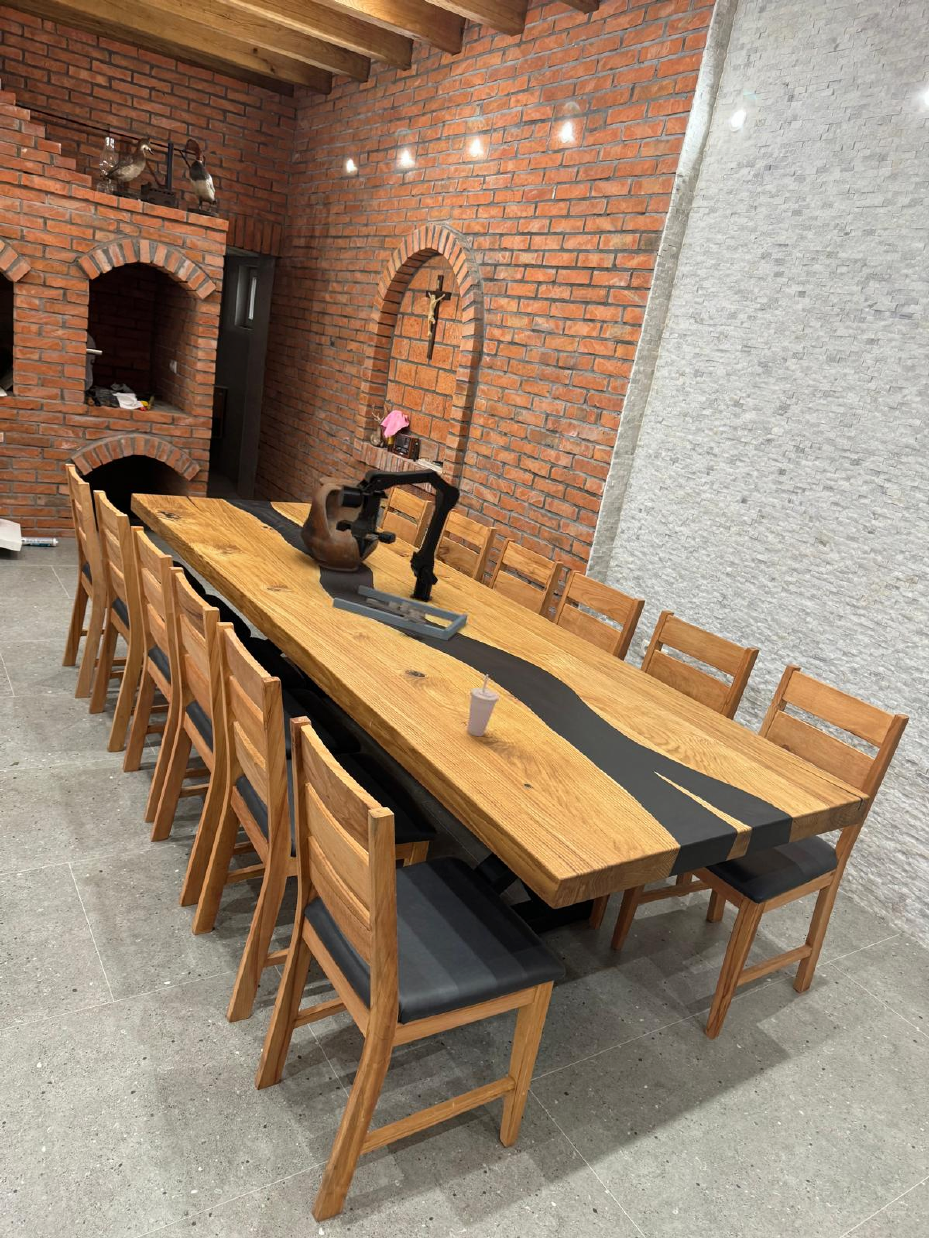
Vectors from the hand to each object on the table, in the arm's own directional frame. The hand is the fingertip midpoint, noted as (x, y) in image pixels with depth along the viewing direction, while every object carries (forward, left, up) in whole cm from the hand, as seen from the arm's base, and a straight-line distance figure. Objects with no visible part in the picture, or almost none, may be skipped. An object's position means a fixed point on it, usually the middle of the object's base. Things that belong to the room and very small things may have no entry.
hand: (361, 557), depth 263 cm
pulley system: (+15, +22, -10) cm, 29 cm away
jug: (-26, -19, -12) cm, 35 cm away
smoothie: (+74, +62, -12) cm, 97 cm away
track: (+9, +19, -12) cm, 25 cm away
